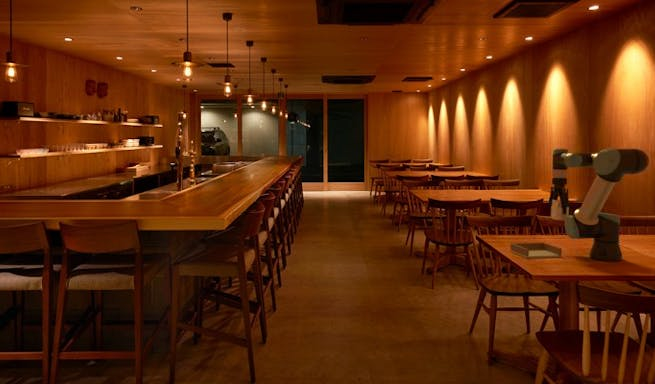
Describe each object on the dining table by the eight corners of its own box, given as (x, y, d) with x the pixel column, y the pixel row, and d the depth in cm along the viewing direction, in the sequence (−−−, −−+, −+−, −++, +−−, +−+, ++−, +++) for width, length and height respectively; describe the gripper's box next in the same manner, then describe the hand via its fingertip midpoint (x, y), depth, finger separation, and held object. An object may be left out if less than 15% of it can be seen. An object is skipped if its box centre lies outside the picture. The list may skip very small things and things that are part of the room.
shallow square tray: (561, 257, 296) (561, 248, 296) (526, 258, 293) (526, 249, 293) (543, 250, 314) (543, 242, 313) (510, 251, 311) (510, 243, 311)
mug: (563, 221, 304) (564, 201, 303) (547, 219, 309) (548, 200, 308) (570, 218, 314) (571, 199, 313) (554, 217, 319) (555, 199, 318)
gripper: (577, 178, 300) (576, 221, 302) (555, 176, 322) (554, 216, 323) (564, 178, 299) (562, 221, 301) (542, 176, 321) (541, 216, 322)
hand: (558, 218), depth 312 cm, fingers closed on mug, 9 cm apart
